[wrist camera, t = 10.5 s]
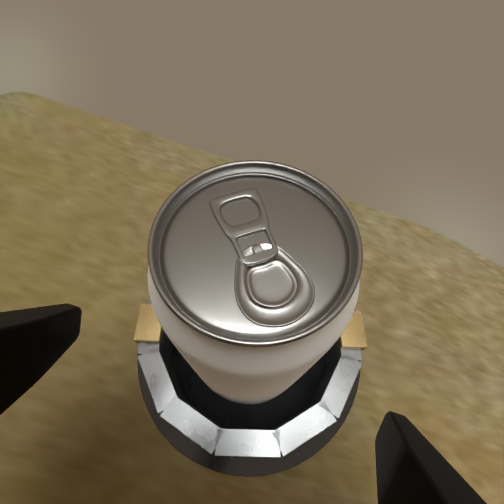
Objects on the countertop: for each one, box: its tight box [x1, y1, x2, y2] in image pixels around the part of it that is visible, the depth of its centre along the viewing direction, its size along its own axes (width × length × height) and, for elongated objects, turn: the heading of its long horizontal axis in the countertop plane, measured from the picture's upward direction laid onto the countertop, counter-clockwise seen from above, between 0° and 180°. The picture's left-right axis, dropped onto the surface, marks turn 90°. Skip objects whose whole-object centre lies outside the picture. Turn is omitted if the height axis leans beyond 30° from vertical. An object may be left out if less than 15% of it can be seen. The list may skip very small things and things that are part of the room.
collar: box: [134, 296, 367, 476], centre depth 18 cm, size 13×13×5 cm
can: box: [148, 160, 363, 404], centre depth 14 cm, size 6×6×12 cm
